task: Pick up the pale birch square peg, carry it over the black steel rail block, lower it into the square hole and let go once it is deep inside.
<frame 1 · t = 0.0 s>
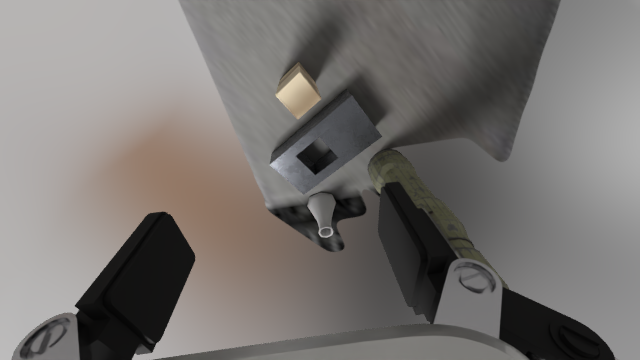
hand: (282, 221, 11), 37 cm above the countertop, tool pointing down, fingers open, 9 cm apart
peg: (297, 81, 42), on the countertop
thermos: (386, 165, 54), on the countertop
rail: (322, 140, 49), on the countertop
flask: (321, 202, 58), on the countertop
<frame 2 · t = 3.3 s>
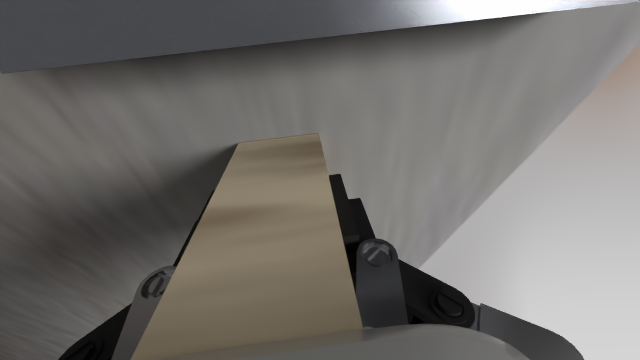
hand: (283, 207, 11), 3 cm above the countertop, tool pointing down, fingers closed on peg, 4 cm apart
peg: (285, 172, 14), on the countertop, touching gripper
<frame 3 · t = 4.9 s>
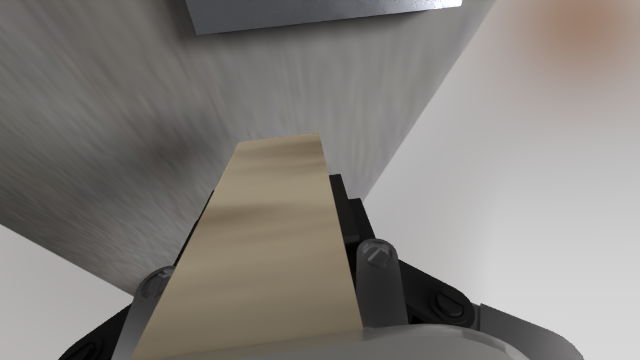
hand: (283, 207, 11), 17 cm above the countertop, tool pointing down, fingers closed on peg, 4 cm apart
peg: (285, 171, 14), point 14 cm above the countertop, touching gripper
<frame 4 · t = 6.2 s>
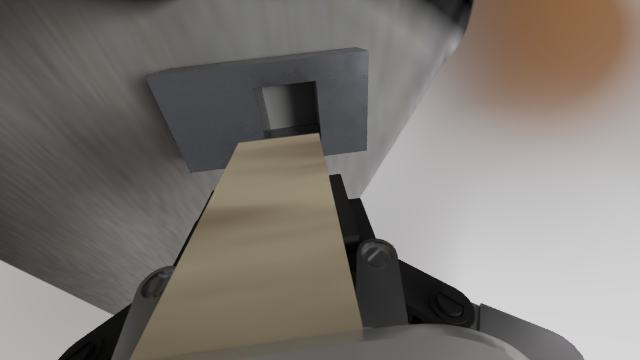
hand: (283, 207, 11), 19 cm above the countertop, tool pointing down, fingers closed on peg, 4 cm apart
peg: (285, 172, 14), point 16 cm above the countertop, touching gripper
rail: (273, 104, 27), on the countertop
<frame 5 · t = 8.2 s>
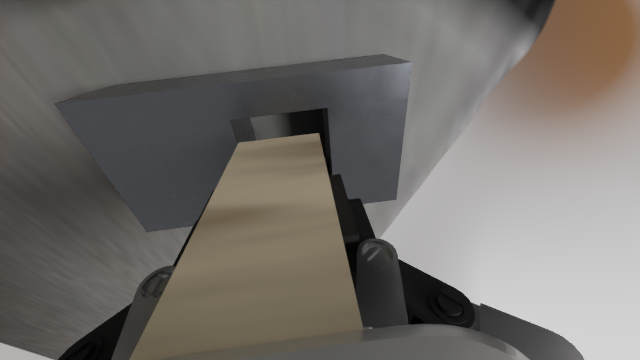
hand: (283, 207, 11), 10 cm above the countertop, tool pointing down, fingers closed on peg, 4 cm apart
peg: (285, 172, 14), point 7 cm above the countertop, touching gripper
rail: (265, 133, 20), on the countertop
when the fingers open (6 cm above the countertop, at t = 9.5 s): peg drops 3 cm, resting in rail.
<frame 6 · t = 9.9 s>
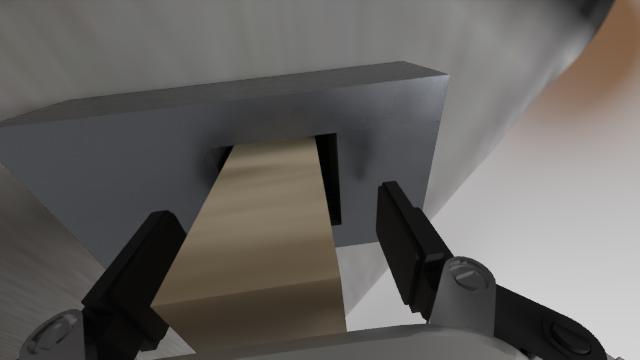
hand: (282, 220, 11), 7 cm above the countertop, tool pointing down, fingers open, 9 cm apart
peg: (284, 151, 17), resting in rail
rail: (259, 154, 17), on the countertop
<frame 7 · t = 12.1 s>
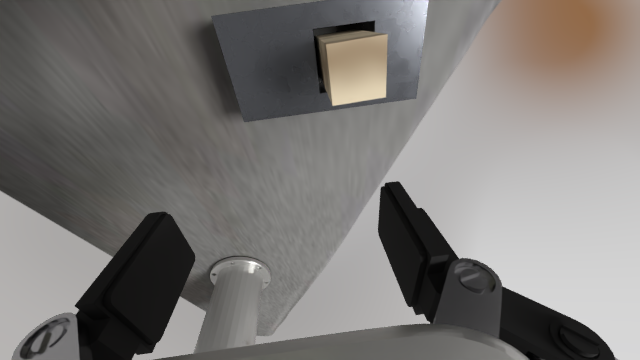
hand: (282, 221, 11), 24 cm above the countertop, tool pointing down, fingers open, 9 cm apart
peg: (336, 54, 28), resting in rail
rail: (321, 56, 28), on the countertop
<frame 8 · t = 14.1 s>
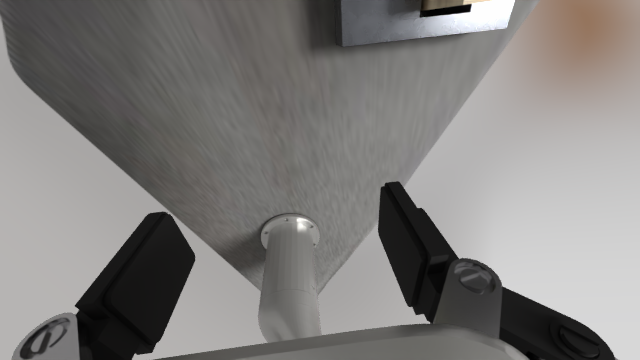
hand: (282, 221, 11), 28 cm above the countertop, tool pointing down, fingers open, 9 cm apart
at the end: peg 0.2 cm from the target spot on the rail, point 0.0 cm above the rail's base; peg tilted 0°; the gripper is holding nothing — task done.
